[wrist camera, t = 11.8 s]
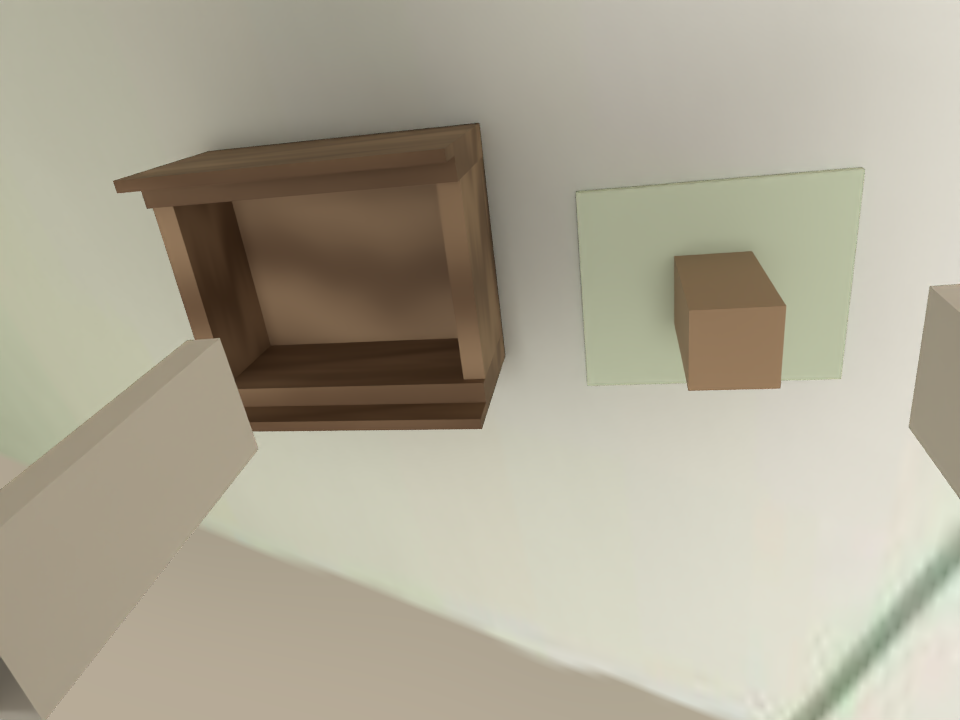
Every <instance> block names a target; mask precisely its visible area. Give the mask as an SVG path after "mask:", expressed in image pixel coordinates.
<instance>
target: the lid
mask: <svg viewBox="0 0 960 720" xmlns="http://www.w3.org/2000/svg"><path fill="white" fill-rule="evenodd" d="M864 174H865V169H864V168H862V167H858V168H846V169H834V170H823V171H811V172H799V173H787V174H776V175H764V176H752V177H741V178H729V179H717V180H705V181H694V182H682V183H670V184H658V185H647V186H635V187H623V188H612V189H600V190H588V191H576V206H577V223H578V239H579V255H580V272H581V288H582V305H583V321H584V337H585V354H586V370H587V386H599V385H637V384H674V383H687V387H688V391H695V390H736V389H776V388H780V386H781V381H785V380H823V379H841V374H842V365H843V357H844V348H845V339H846V331H847V322H848V313H849V305H850V296H851V287H852V279H853V270H854V261H855V253H856V244H857V235H858V227H859V218H860V209H861V201H862V192H863V183H864Z"/></svg>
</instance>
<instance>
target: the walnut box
mask: <svg viewBox="0 0 960 720" xmlns="http://www.w3.org/2000/svg"><path fill="white" fill-rule="evenodd" d="M113 182H114V185H115V188H116V191H117V193H125V192H136V191H141V192H142V195H143V198H144V201H145V204H146V207H147V209H149V208H153V210H154V213H155V216H156V219H157V223H158V226H159V229H160V232H161V235H162V238H163V241H164V244H165V248H166V251H167V254H168V257H169V260H170V263H171V266H172V269H173V273H174V276H175V279H176V282H177V285H178V288H179V291H180V294H181V298H182V301H183V304H184V307H185V310H186V313H187V316H188V320H189V323H190V326H191V329H192V332H193V335H194V338H195V340H201V339H214V338H220V340H221V343H222V346H223V349H224V352H225V354H226V357H227V360H228V363H229V366H230V369H231V372H232V375H233V377H234V380H235V383H236V386H237V389H238V392H239V395H240V397H241V400H242V403H243V406H244V409H245V412H246V415H247V417H248V420H249V423H250V426H251V429H252V431H338V430H428V429H482V427H483V424H484V421H485V418H486V414H487V411H488V408H489V405H490V402H491V399H492V396H493V393H494V389H495V386H496V383H497V380H498V377H499V374H500V371H501V367H502V364H503V361H504V358H505V350H504V341H503V332H502V323H501V314H500V305H499V296H498V287H497V278H496V269H495V260H494V251H493V242H492V233H491V224H490V215H489V206H488V197H487V188H486V179H485V170H484V161H483V152H482V143H481V134H480V125H479V123H474V124H464V125H455V126H445V127H436V128H426V129H416V130H407V131H397V132H388V133H378V134H369V135H359V136H349V137H340V138H330V139H321V140H311V141H301V142H292V143H282V144H273V145H263V146H253V147H244V148H234V149H225V150H215V151H208V152H204V153H201V154H198V155H195V156H192V157H188V158H185V159H182V160H179V161H176V162H172V163H169V164H166V165H163V166H160V167H156V168H153V169H150V170H147V171H143V172H140V173H137V174H134V175H131V176H127V177H124V178H121V179H118V180H115V181H113Z"/></svg>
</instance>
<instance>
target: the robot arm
mask: <svg viewBox="0 0 960 720" xmlns="http://www.w3.org/2000/svg"><path fill="white" fill-rule="evenodd" d="M909 428H910V430H911V431H912V433H913V434H914V435H915V437H916V438H917V440H918V441H919V442H920V444H921V445H922V447H923V448H924V449H925V451H926V452H927V454H928V455H929V456H930V458H931V459H932V461H933V462H934V463H935V465H936V466H937V468H938V469H939V470H940V472H941V473H942V475H943V476H944V478H945V479H946V480H947V482H948V483H949V485H950V486H951V487H952V489H953V490H954V492H955V493H956V494H957V496H958V497H959V499H960V284H954V285H941V286H930V288H929V295H928V302H927V308H926V315H925V322H924V328H923V335H922V342H921V348H920V355H919V362H918V368H917V375H916V382H915V389H914V395H913V402H912V409H911V415H910V422H909ZM257 450H258V446H257V443H256V440H255V437H254V435H253V432H252V429H251V426H250V423H249V420H248V417H247V415H246V412H245V409H244V406H243V403H242V400H241V397H240V395H239V392H238V389H237V386H236V383H235V380H234V377H233V375H232V372H231V369H230V366H229V363H228V360H227V357H226V354H225V352H224V349H223V346H222V343H221V340H220V338H214V339H201V340H187V341H186V342H184V343H183V344H182V345H181V346H179V347H178V348H177V349H176V350H174V351H173V352H172V353H171V354H169V355H168V356H167V357H166V358H164V359H163V360H162V361H161V362H159V363H158V364H157V365H156V366H154V367H153V368H152V369H151V370H149V371H148V372H147V373H146V374H144V375H143V376H142V377H141V378H139V379H138V380H137V381H136V382H134V383H133V384H132V385H131V386H129V387H128V388H127V389H126V390H124V391H123V392H122V393H121V394H119V395H118V396H117V397H116V398H114V399H113V400H112V401H111V402H109V403H108V404H107V405H106V406H104V407H103V408H102V409H101V410H99V411H98V412H97V413H96V414H94V415H93V416H92V417H91V418H89V419H88V420H87V421H86V422H84V423H83V424H82V425H81V426H79V427H78V428H77V429H76V430H74V431H73V432H72V433H71V434H69V435H68V436H67V437H66V438H64V439H63V440H62V441H61V442H59V443H58V444H57V445H56V446H54V447H53V448H52V449H51V450H49V451H48V452H47V453H46V454H44V455H43V456H42V457H41V458H39V459H38V460H37V461H36V462H34V463H33V464H32V465H31V466H29V467H28V468H27V469H26V470H24V471H23V472H22V473H20V474H19V475H18V476H17V477H15V478H14V479H13V480H12V481H11V482H9V483H8V484H7V485H5V486H4V487H3V488H2V489H0V719H1V720H46V719H47V718H48V717H49V715H50V714H51V713H52V712H53V710H54V709H55V708H56V706H57V705H58V704H59V703H60V701H61V700H62V699H63V698H64V696H65V695H66V694H67V692H68V691H69V690H70V689H71V687H72V686H73V685H74V684H75V682H76V681H77V680H78V678H79V677H80V676H81V675H82V673H83V672H84V671H85V669H86V668H87V667H88V666H89V664H90V663H91V662H92V661H93V659H94V658H95V657H96V656H97V654H98V653H99V652H100V650H101V649H102V648H103V647H104V645H105V644H106V643H107V641H108V640H109V639H110V638H111V636H112V635H113V634H114V633H115V631H116V630H117V629H118V627H119V626H120V625H121V623H122V622H123V621H124V620H125V619H126V617H127V616H128V615H129V613H130V612H131V611H132V610H133V608H134V607H135V606H136V604H137V603H138V602H139V601H140V599H141V598H142V597H143V596H144V594H145V593H146V592H147V591H148V589H149V588H150V587H151V585H152V584H153V583H154V582H155V580H156V579H157V578H158V576H159V575H160V574H161V573H162V571H163V570H164V569H165V568H166V566H167V565H168V564H169V563H170V561H171V560H172V559H173V557H174V556H175V555H176V553H177V552H178V551H179V550H180V548H181V547H182V546H183V545H184V543H185V542H186V541H187V539H188V538H189V537H190V536H191V535H192V533H193V532H194V531H195V529H196V528H197V527H198V526H199V524H200V523H201V522H202V520H203V519H204V518H205V517H206V515H207V514H208V513H209V512H210V510H211V509H212V508H213V506H214V505H215V504H216V503H217V501H218V500H219V499H220V498H221V496H222V495H223V494H224V492H225V491H226V490H227V489H228V487H229V486H230V485H231V484H232V482H233V481H234V480H235V478H236V477H237V476H238V475H239V473H240V472H241V471H242V470H243V468H244V467H245V466H246V464H247V463H248V462H249V461H250V459H251V458H252V457H253V456H254V454H255V453H256V452H257Z"/></svg>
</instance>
